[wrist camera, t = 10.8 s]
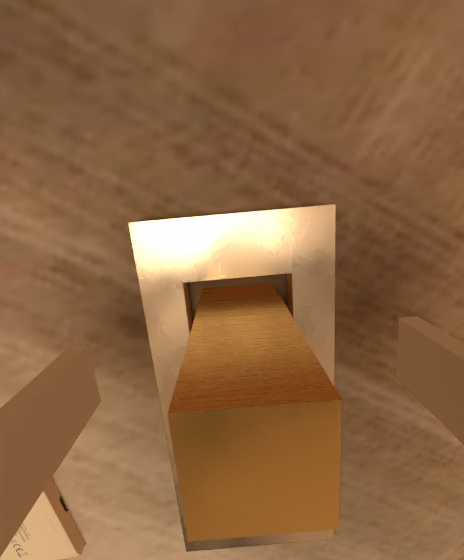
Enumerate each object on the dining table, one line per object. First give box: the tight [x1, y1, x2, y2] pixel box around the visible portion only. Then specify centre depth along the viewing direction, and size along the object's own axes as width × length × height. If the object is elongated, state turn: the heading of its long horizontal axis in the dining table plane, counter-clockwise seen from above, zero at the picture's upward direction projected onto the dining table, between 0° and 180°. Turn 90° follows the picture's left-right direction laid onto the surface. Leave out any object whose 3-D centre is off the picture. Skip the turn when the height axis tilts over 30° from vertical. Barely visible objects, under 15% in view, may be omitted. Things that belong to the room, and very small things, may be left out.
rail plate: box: [129, 204, 335, 552], centre depth 17 cm, size 22×10×2 cm, turn 5°
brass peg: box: [167, 283, 342, 542], centre depth 12 cm, size 4×4×10 cm
